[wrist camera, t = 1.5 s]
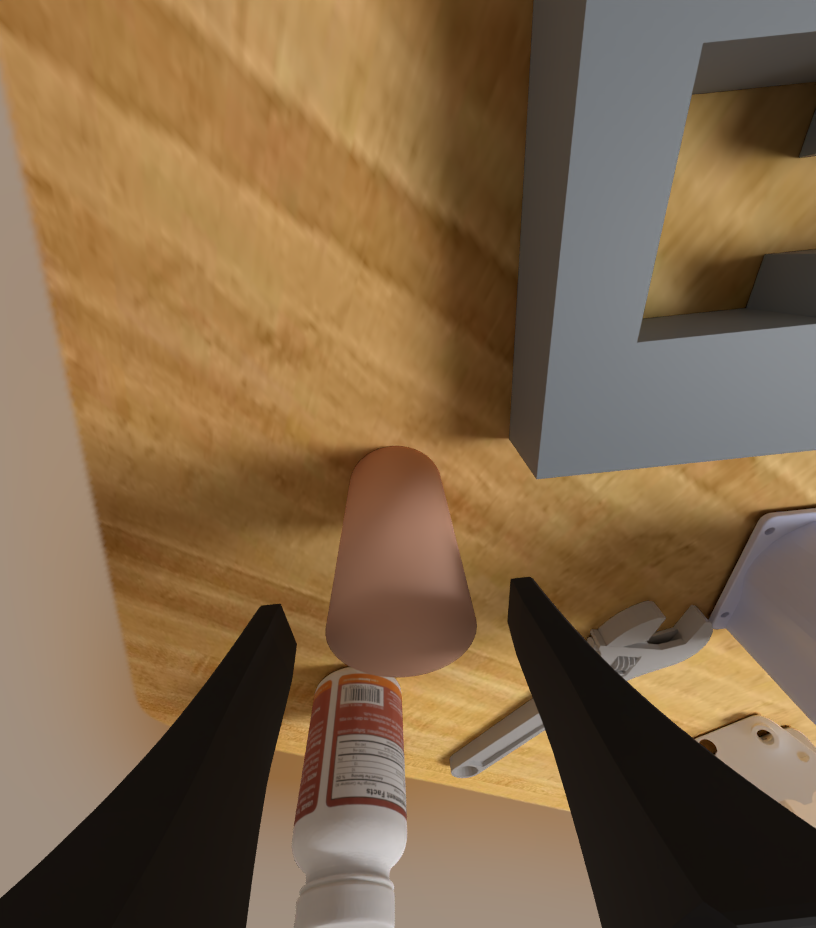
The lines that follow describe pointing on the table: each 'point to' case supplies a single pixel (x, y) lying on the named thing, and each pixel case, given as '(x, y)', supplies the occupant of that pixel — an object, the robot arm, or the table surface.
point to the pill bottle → (351, 803)
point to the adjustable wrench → (623, 648)
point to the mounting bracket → (768, 757)
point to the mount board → (648, 245)
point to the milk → (802, 809)
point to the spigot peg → (398, 571)
